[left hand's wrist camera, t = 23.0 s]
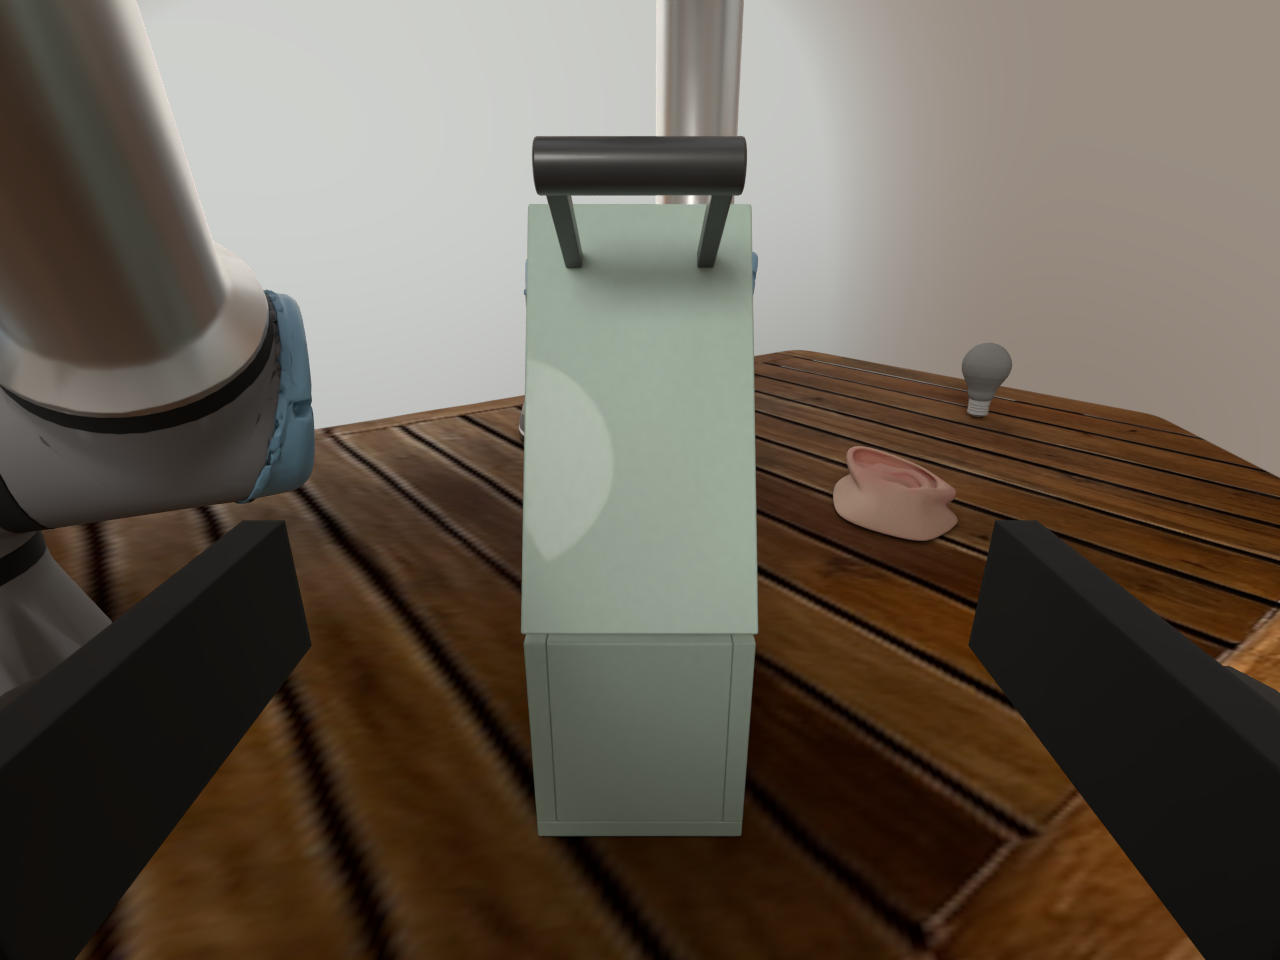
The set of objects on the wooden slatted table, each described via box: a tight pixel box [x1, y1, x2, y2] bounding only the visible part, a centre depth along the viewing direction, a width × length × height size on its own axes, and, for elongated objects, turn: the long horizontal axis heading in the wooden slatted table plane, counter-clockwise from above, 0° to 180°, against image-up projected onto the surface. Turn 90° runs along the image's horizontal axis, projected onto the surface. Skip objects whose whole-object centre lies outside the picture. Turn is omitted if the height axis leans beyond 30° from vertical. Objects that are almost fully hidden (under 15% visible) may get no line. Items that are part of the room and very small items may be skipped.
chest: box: [524, 634, 756, 836], centre depth 37 cm, size 17×9×10 cm, turn 0°
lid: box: [521, 136, 758, 634], centre depth 24 cm, size 18×9×9 cm
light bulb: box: [962, 343, 1012, 417], centre depth 91 cm, size 6×6×10 cm
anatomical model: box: [833, 446, 958, 541], centre depth 64 cm, size 13×4×12 cm
